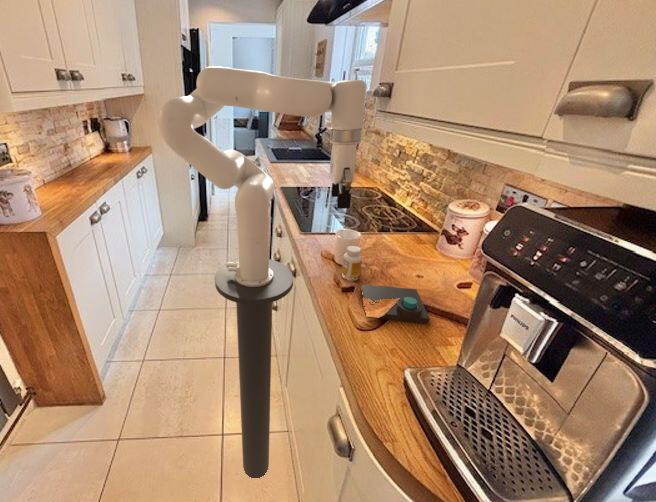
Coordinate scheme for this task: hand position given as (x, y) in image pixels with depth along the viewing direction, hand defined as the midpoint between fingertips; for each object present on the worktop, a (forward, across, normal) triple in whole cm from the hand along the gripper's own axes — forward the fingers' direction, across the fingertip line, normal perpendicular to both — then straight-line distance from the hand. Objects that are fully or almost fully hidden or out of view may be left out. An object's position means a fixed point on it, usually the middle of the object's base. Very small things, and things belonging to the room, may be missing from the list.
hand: (340, 202), depth 89 cm
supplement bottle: (+25, -1, +5) cm, 25 cm away
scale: (+25, +13, +14) cm, 31 cm away
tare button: (+22, +17, +16) cm, 32 cm away
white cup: (+25, -11, +5) cm, 28 cm away
